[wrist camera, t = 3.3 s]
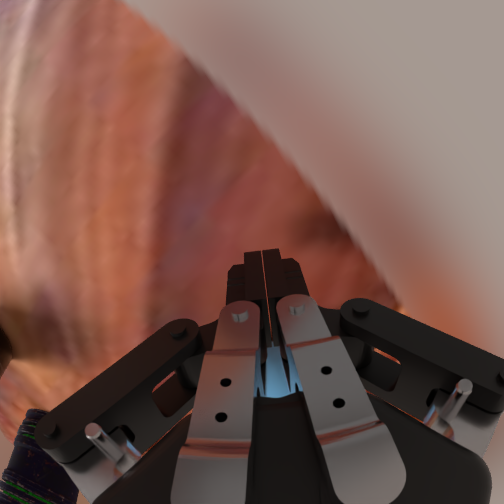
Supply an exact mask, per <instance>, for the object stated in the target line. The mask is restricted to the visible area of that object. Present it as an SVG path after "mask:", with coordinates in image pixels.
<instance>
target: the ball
mask: <svg viewBox="0 0 504 504" xmlns="http://www.w3.org/2000/svg"><path fill="white" fill-rule="evenodd" d="M271 342H272V347H269V348H267V354H268V355H267V359H266V360H267V397H272V398H280V397H283V396H286V395H289V393H288V389H287V385H286V381H285V377H284V372H283V368H282V364H281V356H280V348H279V346H276V347H274V344H273V341H271Z"/></svg>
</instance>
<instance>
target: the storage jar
mask: <svg viewBox="0 0 504 504" xmlns="http://www.w3.org/2000/svg"><path fill="white" fill-rule="evenodd" d="M47 413H48V412H45V411H42V410H39V409H29V410H28V411H27V413H26V418H25V419H24V420H23V422H22V425H20V427H19V429H18V432H17V434H18V435H17V436H16V438H15V441H14V446H15V447H14V450H13V453H12V456H11V458H10V461H9V464H8V467H7V469H4V472H3V473H2V474H3V475H2V479H3V480H4V481H5V482H3V481H1V480H0V489H1V490H3V492H1V491H0V504H76V502H77V497H78V493H79V489H78V487H77V486H76V485H75V483H74V482H73V480H72V479H71V478H70V476H69V475H68V473H67V472H66V470H65V469H64V467H62V466H61V465H60V464H58V463H57V462H56V461H55V460H54V459H53V458H52V457H51V456H50V455H49V454H48V453H47V452H45V451H44V450H43V449H42V448H41V447H40V446H39V445H38V444H37V443H36V441H35V438H34V430H35V427H36V425H37V423H38V421H39V420H40V419H41V418H42V417H43V416H45V415H46V414H47Z"/></svg>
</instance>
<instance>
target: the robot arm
mask: <svg viewBox="0 0 504 504" xmlns="http://www.w3.org/2000/svg"><path fill="white" fill-rule="evenodd" d="M262 254H263V262H264V271H265V280H266V288H267V297H268V304H269V312H270V320H271V328H272V336H273V344H274V347H276V346H279V348H280V356H281V364H282V368H283V372H284V377H285V381H286V385H287V389H288V393H289V395H286V396H283V397H280V398H272V397H267V360H266V359H267V355H268V354H267V348H269V347H272V342H271V333H270V324H269V315H268V306H267V297H266V289H265V281H264V273H263V265H262V257H261V251H253V252H245V253H244V264H239V265H233V266H232V267H231V269H230V270H229V271H228V281H227V295H226V306H225V307H224V308H223V309H222V310H221V312H220V315H219V319H217V320H216V321H214V322H212V323H209V324H207V325H203V326H200V327H198V324H197V323H196V322H195V321H193V320H190V319H177V320H174V321H171V322H169V323H167V324H166V325H165V326H163V327H162V328H161V329H159V330H158V331H157V332H155V333H154V334H153V335H151V336H150V337H149V338H147V339H146V340H145V341H143V342H142V343H141V344H139V345H138V346H137V347H136V348H134V349H133V350H132V351H130V352H129V353H128V354H126V355H125V356H124V357H122V358H121V359H120V360H118V361H117V362H116V363H114V364H113V365H112V366H110V367H109V368H108V369H106V370H105V371H104V372H102V373H101V374H100V375H98V376H97V377H96V378H94V379H93V380H92V381H90V382H89V383H88V384H86V385H85V386H84V387H82V388H81V389H80V390H78V391H77V392H76V393H74V394H73V395H72V396H70V397H69V398H68V399H66V400H65V401H64V402H62V403H61V404H60V405H58V406H57V407H56V408H54V409H53V410H51V411H50V412H49V413H47V414H46V415H45V416H43V417H42V418H41V419H40V420H39V421H38V423H37V425H36V427H35V430H34V438H35V441H36V443H37V444H38V445H39V446H40V447H41V448H42V449H43V450H44V451H45V452H47V453H48V454H49V455H50V456H51V457H52V458H53V459H54V460H55V461H56V462H57V463H58V464H60V465H61V466H62V467H64V469H65V470H66V472H67V473H68V475H69V476H70V478H71V479H72V480H73V482H74V483H75V485H76V486H77V487H78V489H79V490H80V491H81V493H82V494H83V495H84V497H85V498H86V499H87V500H88V502H89V503H90V504H489V502H490V496H491V489H492V480H491V474H490V471H489V468H488V466H487V465H486V463H485V462H484V460H483V459H482V458H483V456H484V454H485V452H486V449H487V447H488V445H489V443H490V440H491V438H492V436H493V433H494V431H495V428H496V426H497V423H498V421H499V418H500V416H501V415H502V413H503V412H504V359H502V358H500V357H498V356H495V355H493V354H491V353H489V352H487V351H484V350H482V349H480V348H478V347H475V346H473V345H471V344H469V343H466V342H464V341H462V340H460V339H457V338H455V337H453V336H451V335H448V334H446V333H444V332H441V331H439V330H437V329H435V328H432V327H430V326H428V325H426V324H423V323H421V322H419V321H417V320H415V319H412V318H410V317H408V316H405V315H403V314H401V313H399V312H396V311H394V310H392V309H390V308H387V307H385V306H383V305H381V304H378V303H376V302H374V301H371V300H369V299H364V298H355V299H351V300H348V301H346V302H345V303H344V304H343V305H342V306H341V309H340V310H337V309H327V308H323V307H320V306H318V305H317V304H316V302H315V300H314V299H313V298H311V297H310V295H309V292H308V289H307V286H306V283H305V280H304V277H303V274H302V272H301V268H300V265H299V263H298V262H297V261H295V260H294V259H293V258H288V259H281V256H280V252H279V248H278V249H269V250H262ZM374 347H375V348H377V349H379V350H381V351H383V352H385V353H387V354H389V355H391V356H393V357H394V358H396V359H397V360H398V361H399V362H400V364H401V365H400V364H398V363H396V362H395V361H393V360H391V359H389V358H387V357H385V356H383V355H381V354H379V353H377V352H375V351H374ZM173 371H174V372H175V374H174V375H173V376H172V377H170V378H169V379H168V380H167V381H166V382H165V383H163V384H162V385H161V386H160V387H159V388H157V389H156V390H155V391H154V392H153V393H152V391H153V389H154V387H155V386H156V385H157V384H158V383H160V382H161V381H162V380H163V379H164V378H166V377H167V376H168V375H169V374H170V373H171V372H173ZM365 389H366V390H367V391H369V392H371V393H373V394H374V395H373V394H370V393H366V391H365ZM375 395H376V396H375ZM377 396H378V397H377ZM379 397H380V398H379ZM384 400H385V401H384ZM386 401H387V402H386ZM389 403H390V404H389ZM391 404H392V405H394V406H395V407H394V406H392V405H391ZM396 407H397V408H399V409H401V410H403V411H404V412H406V413H408V414H410V415H412V416H414V417H415V418H417V419H419V420H421V421H423V422H424V424H423V423H421V422H419V421H418V420H416V419H414V418H412V417H411V416H409V415H407V414H406V413H404V412H402V411H401V410H399V409H397V408H396ZM192 408H193V411H192V413H191V414H189V415H188V416H186V417H185V418H183V417H184V416H185V415H186V414H187V413H188V412H189V411H190V410H191V409H192ZM182 418H183V419H182ZM181 419H182V420H181ZM180 420H181V421H180ZM178 421H180V422H178ZM177 422H178V423H177ZM176 423H177V424H176ZM175 424H176V425H175ZM174 425H175V426H174ZM173 426H174V427H173ZM172 427H173V428H172ZM171 428H172V429H171ZM170 429H171V430H170ZM169 430H170V431H169ZM167 431H169V432H168V433H167V434H166V435H165V436H164V437H163V438H162V439H161V440H160V441H159V442H158V443H157V444H156V445H155V446H154V447H152V448H151V449H150V450H149V451H148V452H147V453H146V454H145V455H144V456H143V457H142V458H141V454H143V453H144V452H145V451H146V450H147V449H148V448H149V447H151V446H152V445H153V444H154V443H155V442H156V441H157V440H159V439H160V438H161V437H162V436H163V435H164V434H165V433H166V432H167Z"/></svg>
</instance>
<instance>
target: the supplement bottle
mask: <svg viewBox="0 0 504 504" xmlns="http://www.w3.org/2000/svg"><path fill="white" fill-rule="evenodd" d="M11 359H12V349H11V346H10V343H9V341H8V339H7V337H6V336H5V334H4V333H3V331H2V330H1V328H0V378H1V377H2V375H3V373H4V372H5V370H6V368H7V366H8V365H9V363H10V361H11Z"/></svg>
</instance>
